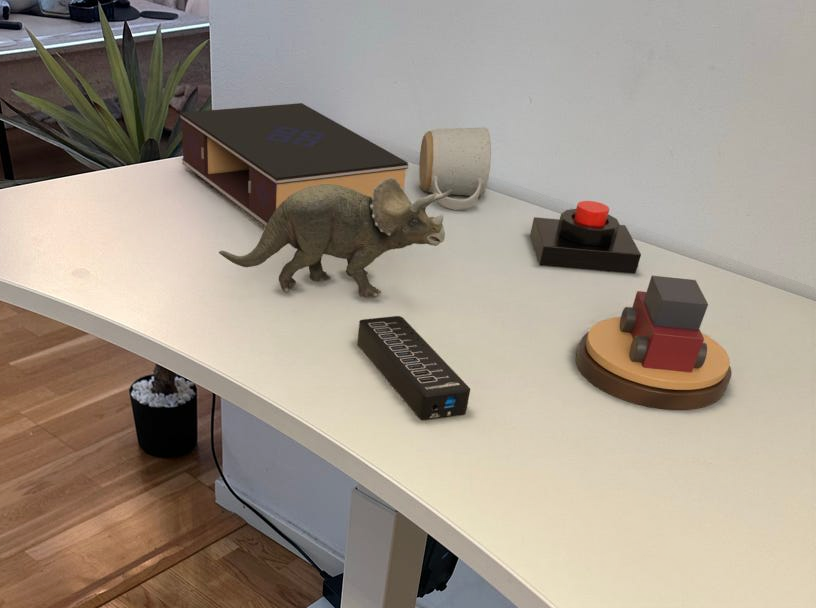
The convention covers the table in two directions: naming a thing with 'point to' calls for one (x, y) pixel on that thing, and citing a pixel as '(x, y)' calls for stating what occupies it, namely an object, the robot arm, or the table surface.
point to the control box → (584, 244)
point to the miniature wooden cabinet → (280, 155)
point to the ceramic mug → (455, 164)
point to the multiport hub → (413, 368)
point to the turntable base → (643, 392)
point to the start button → (591, 213)
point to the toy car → (661, 339)
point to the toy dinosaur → (344, 230)
